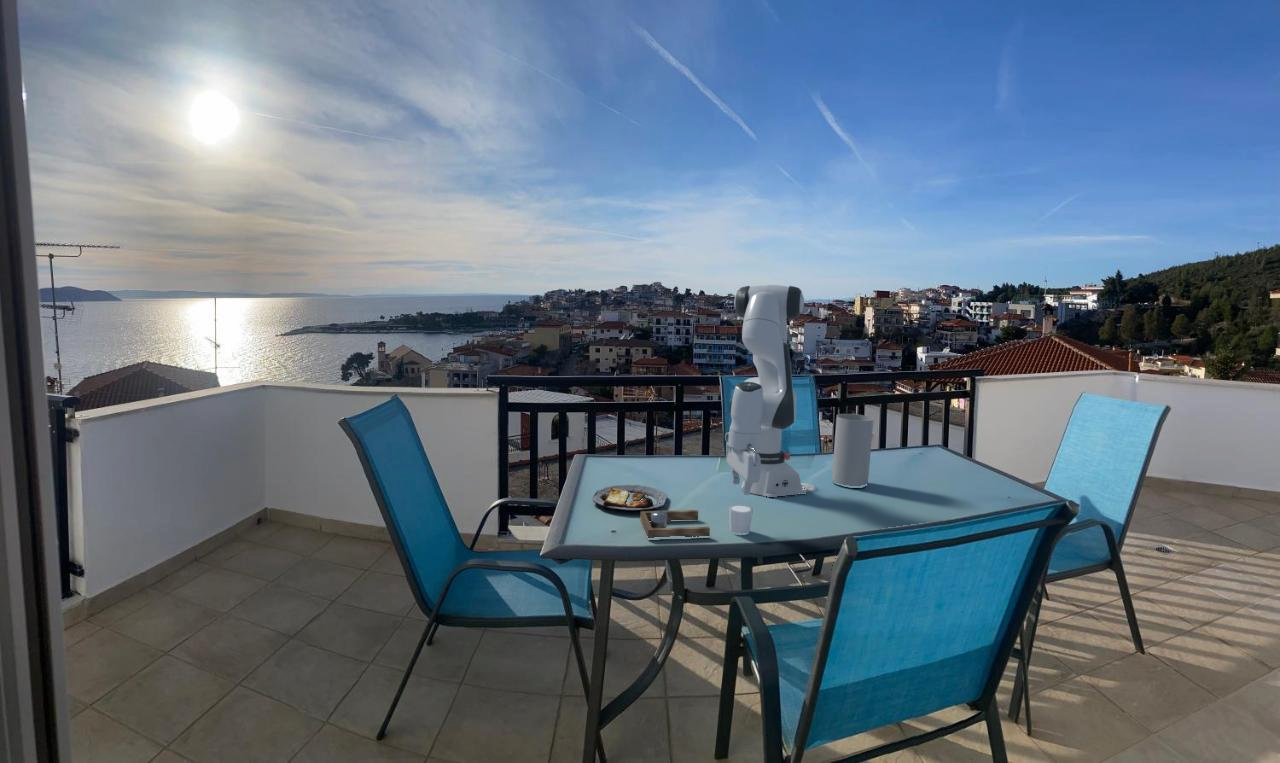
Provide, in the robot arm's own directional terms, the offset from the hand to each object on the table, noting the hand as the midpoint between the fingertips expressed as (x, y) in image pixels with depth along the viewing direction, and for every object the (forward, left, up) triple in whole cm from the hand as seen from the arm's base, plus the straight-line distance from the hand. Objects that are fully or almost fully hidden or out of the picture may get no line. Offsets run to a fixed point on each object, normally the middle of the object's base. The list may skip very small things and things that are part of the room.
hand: (740, 488), depth 168 cm
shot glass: (0, 0, -13) cm, 13 cm away
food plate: (+28, -27, -13) cm, 41 cm away
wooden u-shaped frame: (+18, -3, -13) cm, 22 cm away
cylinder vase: (-55, -41, -13) cm, 70 cm away
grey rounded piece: (+23, -3, -13) cm, 26 cm away
